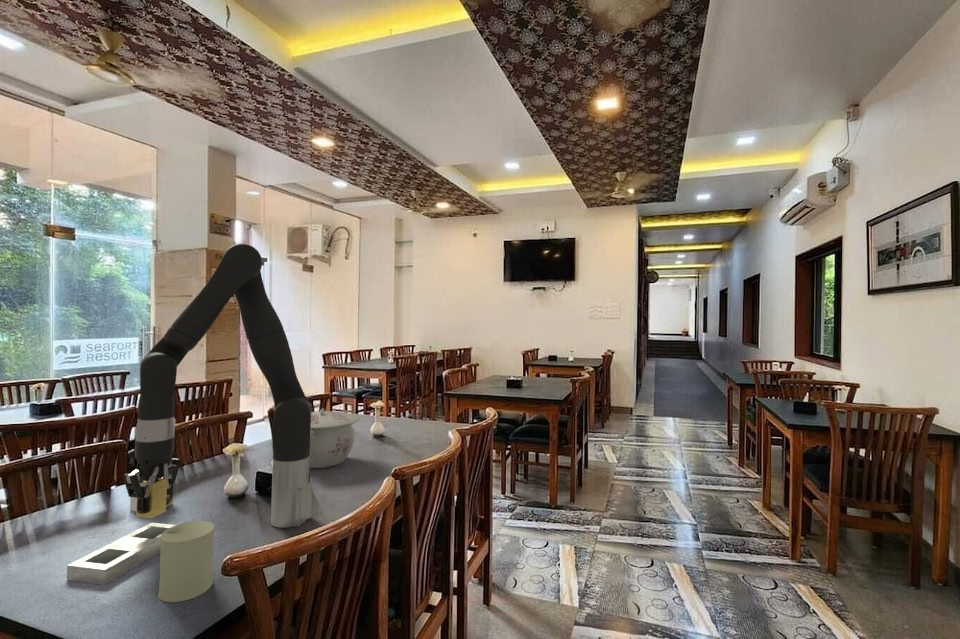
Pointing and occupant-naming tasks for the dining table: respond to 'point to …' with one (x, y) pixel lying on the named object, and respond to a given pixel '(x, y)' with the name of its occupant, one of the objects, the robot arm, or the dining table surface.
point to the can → (186, 561)
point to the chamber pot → (330, 437)
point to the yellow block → (156, 498)
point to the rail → (118, 556)
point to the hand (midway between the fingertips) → (152, 508)
